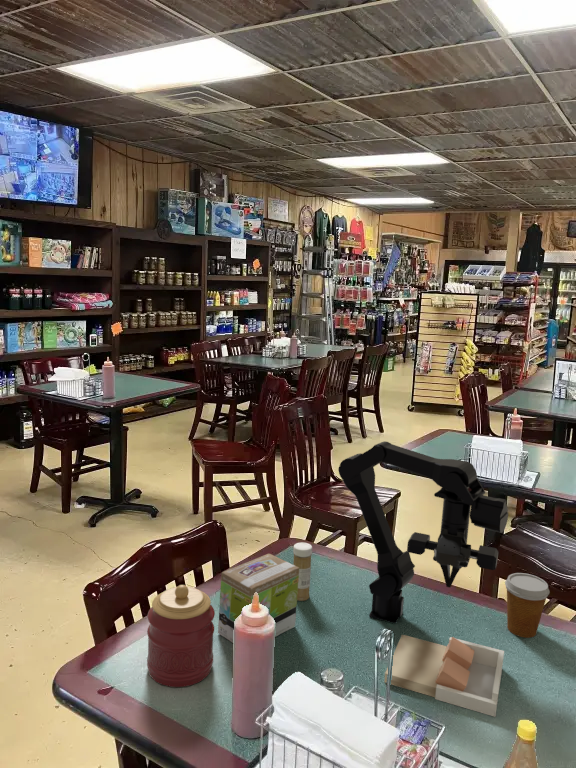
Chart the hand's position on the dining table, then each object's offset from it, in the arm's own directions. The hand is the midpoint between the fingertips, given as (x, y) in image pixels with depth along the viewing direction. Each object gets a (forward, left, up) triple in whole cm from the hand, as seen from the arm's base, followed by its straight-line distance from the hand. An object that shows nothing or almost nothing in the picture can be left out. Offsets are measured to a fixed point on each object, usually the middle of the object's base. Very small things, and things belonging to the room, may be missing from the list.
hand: (448, 586), depth 139 cm
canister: (-46, -36, -12) cm, 60 cm away
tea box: (-38, -17, -12) cm, 43 cm away
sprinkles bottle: (-35, +1, -12) cm, 37 cm away
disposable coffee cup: (+16, +11, -12) cm, 23 cm away
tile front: (+4, -18, -11) cm, 21 cm away
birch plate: (-3, -14, -12) cm, 19 cm away
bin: (+7, -14, -12) cm, 20 cm away
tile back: (+4, -10, -11) cm, 15 cm away
